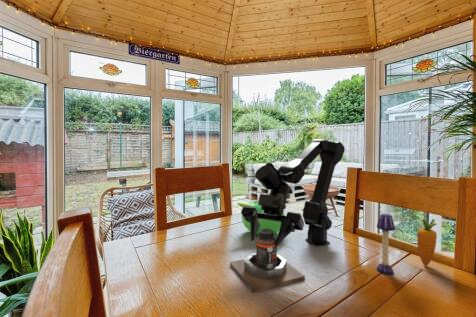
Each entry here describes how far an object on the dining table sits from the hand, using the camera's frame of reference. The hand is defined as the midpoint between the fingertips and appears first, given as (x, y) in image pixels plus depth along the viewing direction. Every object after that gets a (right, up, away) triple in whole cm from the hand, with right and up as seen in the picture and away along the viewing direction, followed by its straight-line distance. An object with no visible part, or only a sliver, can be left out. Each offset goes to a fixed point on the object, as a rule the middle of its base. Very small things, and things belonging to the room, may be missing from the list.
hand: (263, 243), depth 75 cm
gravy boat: (+3, -7, +33) cm, 34 cm away
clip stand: (+1, -9, +2) cm, 9 cm away
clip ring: (+1, -9, +2) cm, 9 cm away
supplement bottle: (+1, -8, +2) cm, 8 cm away
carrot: (+50, -9, +5) cm, 51 cm away
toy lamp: (+36, -9, +3) cm, 37 cm away
